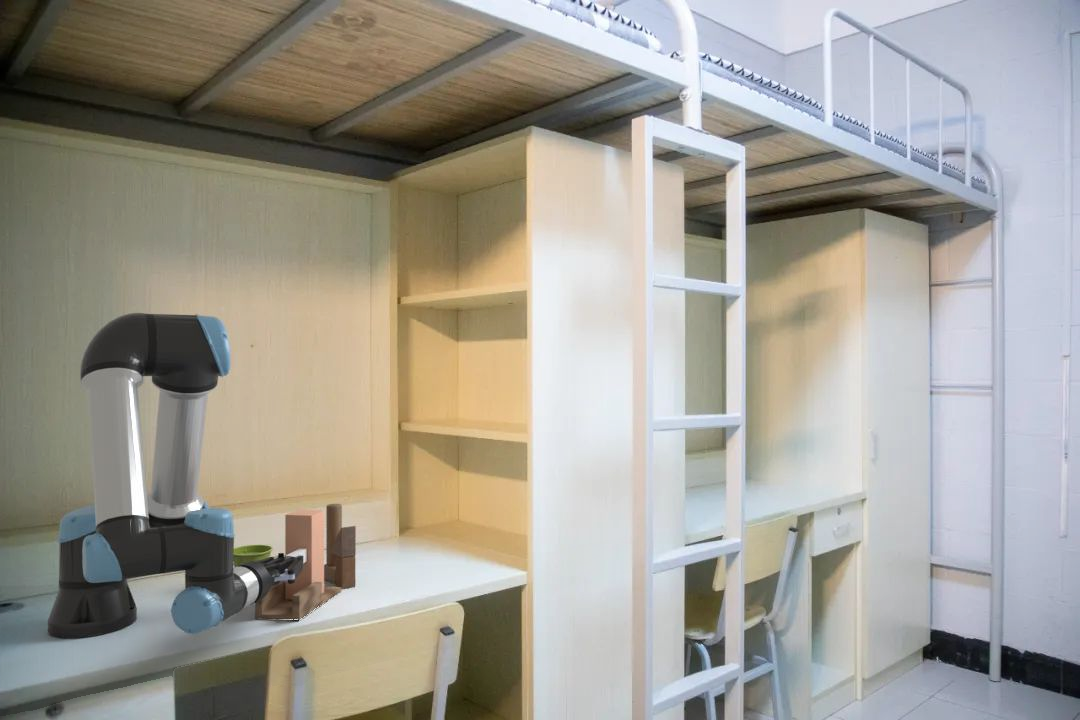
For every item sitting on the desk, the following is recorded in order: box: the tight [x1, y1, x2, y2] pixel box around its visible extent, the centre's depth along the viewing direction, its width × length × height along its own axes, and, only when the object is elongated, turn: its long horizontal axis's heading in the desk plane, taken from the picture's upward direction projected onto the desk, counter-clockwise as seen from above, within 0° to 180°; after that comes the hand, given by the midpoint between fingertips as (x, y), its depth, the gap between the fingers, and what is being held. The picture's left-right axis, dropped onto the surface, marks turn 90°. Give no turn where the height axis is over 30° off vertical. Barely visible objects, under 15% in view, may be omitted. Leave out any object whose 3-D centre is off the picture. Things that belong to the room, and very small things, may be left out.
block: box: [284, 509, 325, 599], centre depth 163 cm, size 6×6×18 cm
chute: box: [254, 580, 342, 621], centre depth 160 cm, size 20×10×5 cm, turn 171°
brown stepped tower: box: [324, 503, 357, 590], centre depth 177 cm, size 4×11×18 cm, turn 37°
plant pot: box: [233, 544, 274, 567], centre depth 174 cm, size 9×9×9 cm
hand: (303, 554), depth 159 cm, fingers closed
